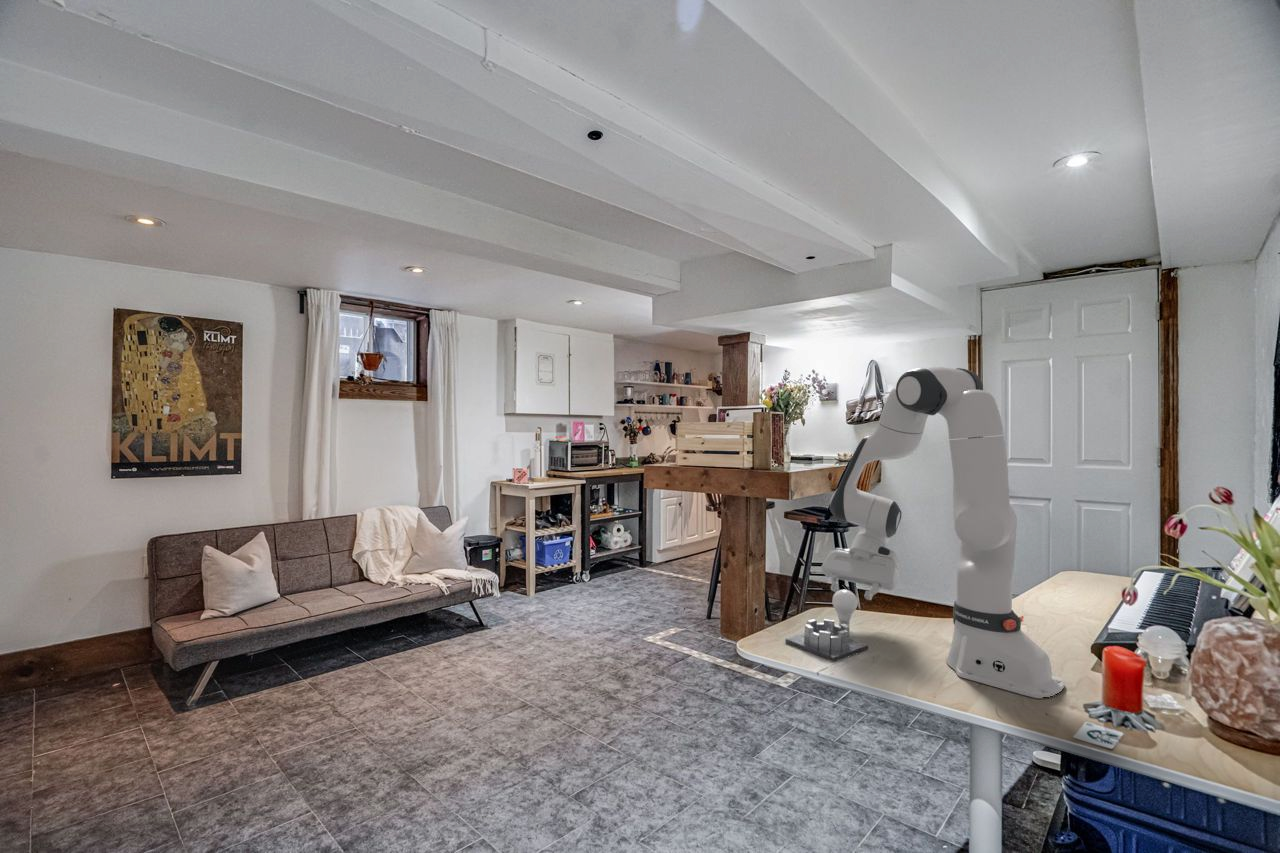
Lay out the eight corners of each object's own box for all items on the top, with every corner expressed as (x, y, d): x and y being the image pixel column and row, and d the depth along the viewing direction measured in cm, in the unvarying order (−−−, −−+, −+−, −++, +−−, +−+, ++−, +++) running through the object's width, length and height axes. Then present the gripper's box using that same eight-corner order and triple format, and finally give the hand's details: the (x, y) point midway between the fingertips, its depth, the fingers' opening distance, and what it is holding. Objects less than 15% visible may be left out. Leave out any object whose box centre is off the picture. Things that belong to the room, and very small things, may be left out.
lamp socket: (868, 649, 146) (868, 628, 146) (833, 662, 137) (834, 640, 137) (820, 631, 157) (821, 613, 157) (785, 642, 149) (786, 622, 149)
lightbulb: (829, 632, 157) (830, 590, 157) (833, 625, 162) (834, 585, 162) (854, 637, 154) (856, 594, 154) (858, 629, 160) (859, 588, 159)
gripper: (828, 540, 173) (811, 579, 166) (900, 552, 159) (884, 596, 152) (834, 553, 176) (818, 592, 169) (905, 566, 162) (890, 610, 155)
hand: (850, 594), depth 161 cm, fingers open, 8 cm apart
